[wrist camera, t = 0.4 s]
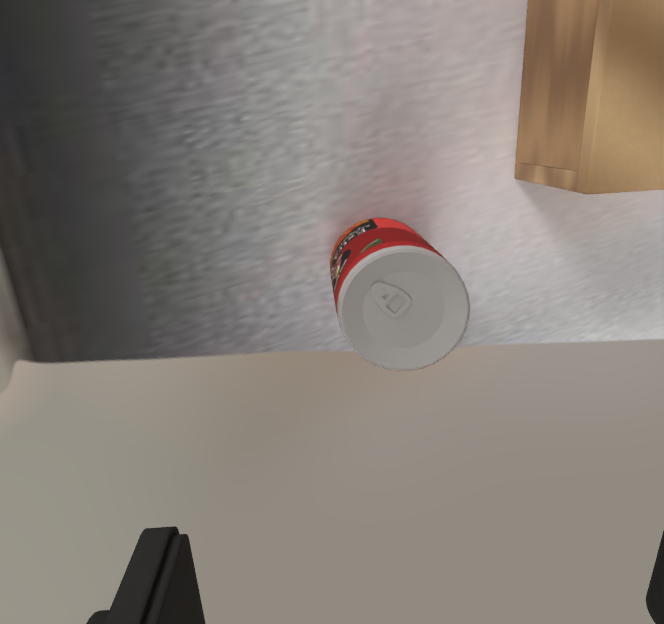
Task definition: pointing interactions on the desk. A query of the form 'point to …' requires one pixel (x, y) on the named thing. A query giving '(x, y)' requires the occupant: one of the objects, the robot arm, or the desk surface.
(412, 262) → the canned food
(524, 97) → the wooden stand
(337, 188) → the desk surface
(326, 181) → the desk surface
